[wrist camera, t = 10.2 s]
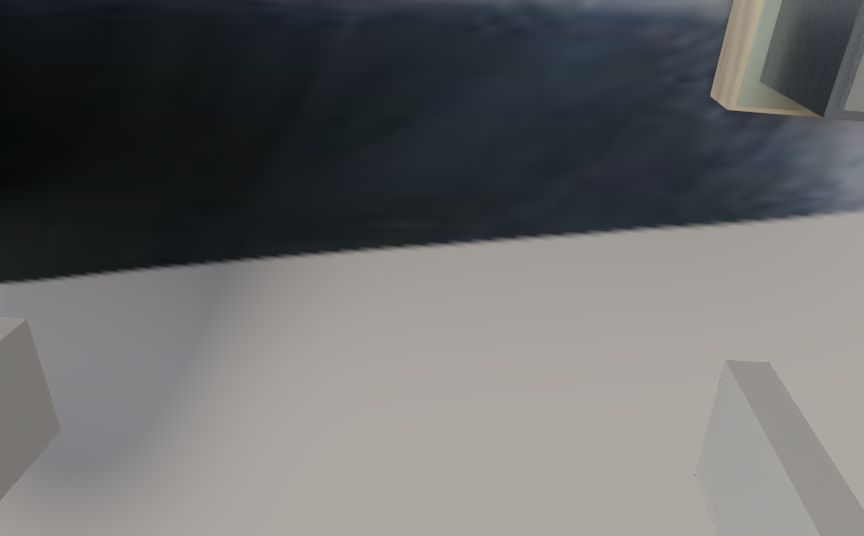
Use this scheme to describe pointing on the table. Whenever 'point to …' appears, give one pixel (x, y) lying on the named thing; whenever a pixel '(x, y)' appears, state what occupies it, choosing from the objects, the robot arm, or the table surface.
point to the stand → (750, 62)
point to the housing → (819, 56)
